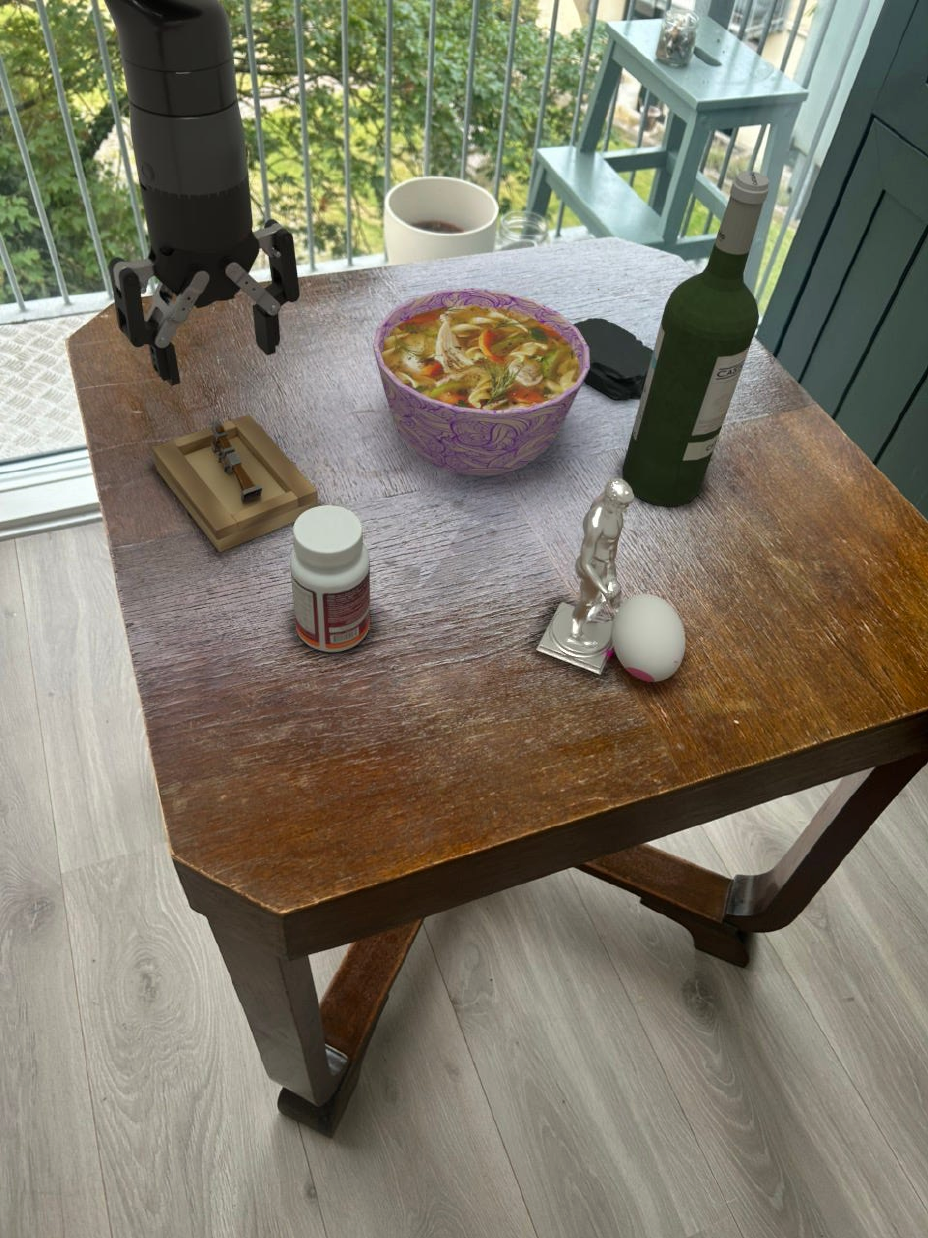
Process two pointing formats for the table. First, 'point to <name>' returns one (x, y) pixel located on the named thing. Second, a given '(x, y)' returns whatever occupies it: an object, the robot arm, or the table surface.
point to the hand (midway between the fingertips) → (219, 364)
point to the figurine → (592, 586)
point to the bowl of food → (479, 377)
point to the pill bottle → (330, 578)
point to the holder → (235, 483)
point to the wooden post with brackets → (232, 462)
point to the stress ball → (648, 637)
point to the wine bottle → (697, 360)
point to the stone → (615, 358)
